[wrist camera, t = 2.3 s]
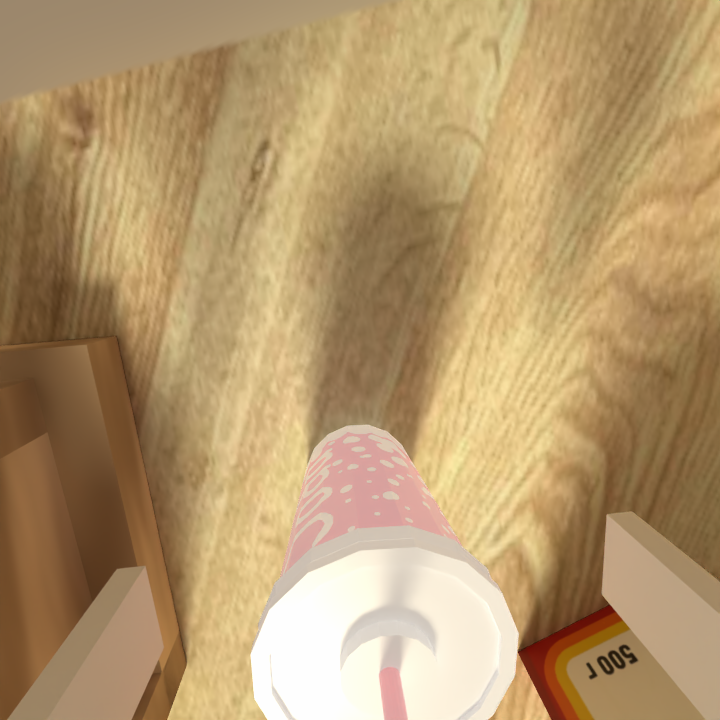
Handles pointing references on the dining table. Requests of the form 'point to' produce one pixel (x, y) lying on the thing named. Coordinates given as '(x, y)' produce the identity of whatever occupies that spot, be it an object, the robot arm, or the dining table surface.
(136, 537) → the wooden caddy with backboard
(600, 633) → the baking soda box
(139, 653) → the robot arm
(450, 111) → the dining table surface
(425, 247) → the dining table surface
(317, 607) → the beverage cup
